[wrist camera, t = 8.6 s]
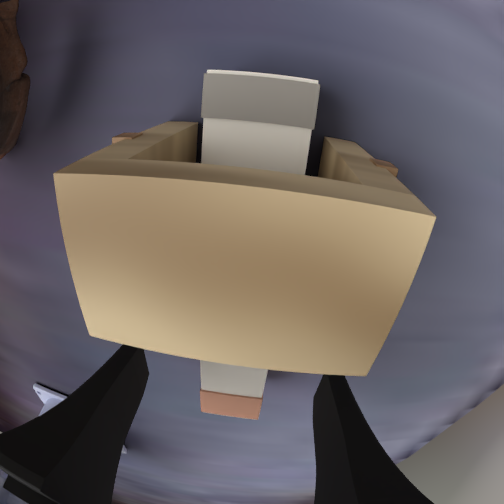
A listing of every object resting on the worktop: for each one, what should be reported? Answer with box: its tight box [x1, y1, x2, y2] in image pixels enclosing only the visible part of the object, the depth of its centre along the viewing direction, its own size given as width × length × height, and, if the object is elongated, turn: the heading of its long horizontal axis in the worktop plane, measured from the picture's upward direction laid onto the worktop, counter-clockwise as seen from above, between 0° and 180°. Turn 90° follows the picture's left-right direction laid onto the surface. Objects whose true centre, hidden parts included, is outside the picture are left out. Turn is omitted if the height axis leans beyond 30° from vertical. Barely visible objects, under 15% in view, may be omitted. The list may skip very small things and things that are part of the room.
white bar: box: [200, 70, 320, 420], centre depth 12 cm, size 15×3×3 cm, turn 175°
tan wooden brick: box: [53, 121, 436, 376], centre depth 8 cm, size 4×7×6 cm, turn 84°
